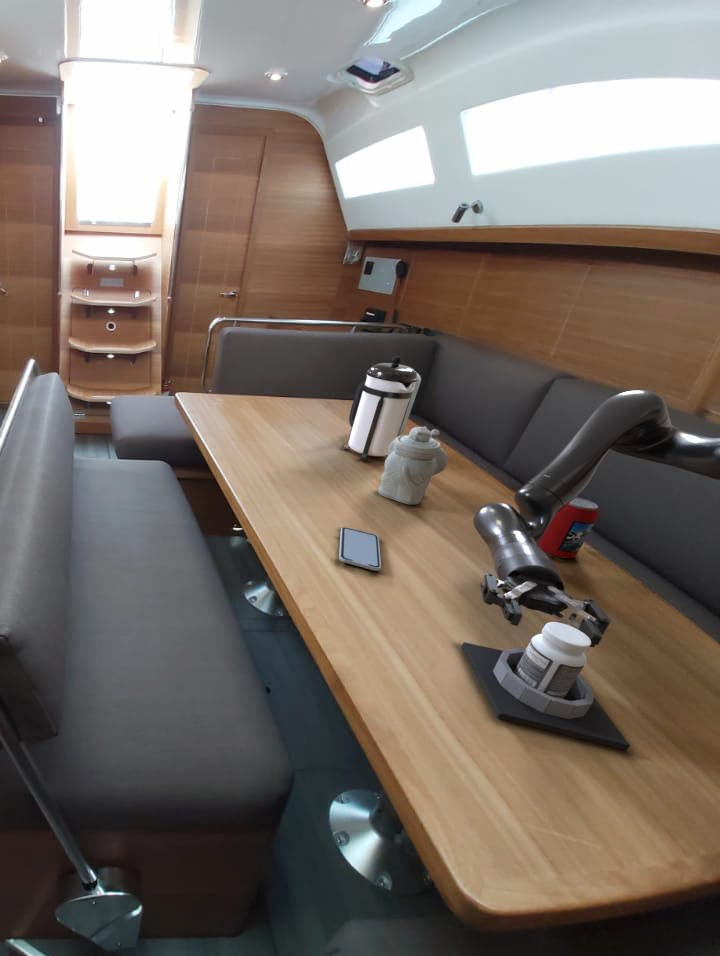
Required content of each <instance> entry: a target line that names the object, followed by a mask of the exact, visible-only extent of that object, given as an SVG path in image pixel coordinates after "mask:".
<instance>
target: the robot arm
mask: <svg viewBox="0 0 720 956" xmlns="http://www.w3.org/2000/svg"><path fill="white" fill-rule="evenodd" d="M610 450H612V451H614V452H616V453H619V454H622V455H625V456H628V457H632V458H637V459H641V460H645V461H648V462H649V461H650V462H654V463H658V464H662V465H666V466H670V467H674V468H678V469H681V470H684V471H687V472H690V473H693V474H697V475H700V476H704V477H706V478H710V479H713V480H716V481H720V437H708V436H704V435H700V434H696V433H693V432H689V431H686V430H682V429H680V428H677V427H676V426H674V425H673V424H672V423H671V418H670V414H669V410H668V407H667V404H666V402H665V399H663V397H662V396H661V395H660V394H658V393H656V392H654V391H650V390H641V389H639V390H638V389H637V390H629V391H624V392H621V393H618V394H614V395H613V396H611V397H609V398H607V399H606V400H605V401H603V402H602V403H601V404H599V406H597V408H596V409H595V410H594V411H593V412H592V413H591V415H590V416H589V418H587V420H586V421H585V422H584V423H583V425H582V426H581V427H580V428H579V430H578V431H576V433H575V434H574V436H573V437H572V438H571V439H570V440H569V442H568V443H567V444H566V445H565V446H564V447H563V448H562V450H561V451H559V453H558V454H557V455H556V456H555V457H554V458H553V459H552V460H550V462H549V463H548V464H547V465H546V466H544V467H543V468H542V469H541V470H540V471H539V472H537V474H535V475H534V476H533V477H532V478H531V479H530V480H528V481H527V482H526V483H524V485H522V486H521V487H520V488H518V490H517V491H516V492H515V493H514V495H513V497H514V498H513V499H514V502H515V505H516V506H517V509H518V511H517V510H516V508H514V507H513V506H512V505H510V504H507V503H505V502H499V501H498V502H490V503H487V504H484V505H482V506H481V507H480V508H478V510H477V511H476V512H475V514H474V515H473V519H472V521H473V527H474V529H475V530H476V532H477V534H478V535H479V537H480V539H482V541H483V542H484V543H485V545H486V546H487V548H488V550H489V552H490V556H491V559H492V560H493V565H494V570H495V573H496V575H497V578H496V575H495V574H493V573H492V572H485V574H484V576H483V578H482V580H481V582H480V586H479V587H480V592H481V597H482V602H483V603H484V604H486V605H489V606H493V605H496V606H497V608H498V609H499V610H501V612H502V615H503V617H504V619H505V620H506V621H508V623H509V624H510V625H512V626H515V627H517V626H519V624H520V622H521V620H522V618H523V612H522V610H521V608H523V607H524V608H526V609H527V610H531V611H536V612H537V611H538V612H541V613H543V614H546V615H550V616H551V617H552V618H554V619H555V620H557V622H559V623H562V624H566V625H569V626H571V627H574V628H576V629H578V630H579V631H581V632H583V633H584V634H585V635H586V636H587V637H589V639H590V640H591V645H590V647H589V648H595V646H599V644H600V642H602V639H603V638H604V633H605V632H606V630H607V629H608V627H609V626H610V624H611V622H612V620H611V619H610V618H609V616H608V615H607V614H606V612H605V611H604V610H603V609H602V607H601V605H599V603H598V602H597V601H596V599H593V598H592V597H585V598H584V600H578V599H574V598H573V597H572V596H571V595H570V594H568V593H567V592H566V590H565V585H564V584H565V583H564V581H563V578H562V577H561V576H560V573H559V572H558V570H557V569H556V566H555V565H554V564H553V562H552V559H550V557H549V555H548V554H546V553H544V552H543V550H542V548H541V546H540V545H539V543H538V542H539V541H540V540H541V538H542V537H543V535H544V533H545V531H546V530H547V528H548V526H549V525H550V523H551V522H552V520H553V518H554V516H555V515H556V514H557V513H558V512H559V511H560V510H561V509H562V508H564V507H565V506H566V505H567V504H568V503H570V502H571V501H572V500H573V499H574V498H576V497H579V495H580V494H581V493H582V492H583V491H584V490H585V488H586V487H587V486H588V484H589V483H590V481H591V480H592V478H593V476H594V474H595V473H596V471H597V469H598V467H599V466H600V464H601V462H602V461H603V459H604V458H605V456H606V455H607V454H608V452H609V451H610ZM499 589H501V592H502V593H504V594H501V593H499V592H500V591H499ZM564 611H565V612H564ZM562 612H564V613H562ZM577 616H578V617H580V618H581V619H582V620H581V621H578V620H577Z"/></svg>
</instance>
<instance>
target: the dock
mask: <svg viewBox="0 0 720 956" xmlns="http://www.w3.org/2000/svg"><path fill="white" fill-rule="evenodd" d="M461 648H462V651H463V652H464V655H465V656H466V659H467V660H468V662H469V665H470V666H471V668H472V670H473V673H474V675H475V677H476V678H477V681H478V682H479V685H480V686H481V688H482V691H483V692H484V695H485V697H486V698H487V700H488V702H489V705H490V706H491V708H492V710H493V713H494V714H495V716H496V718H497V719H499V720H503V721H507V722H512V723H516V724H518V725H523V726H527V727H530V728H535V729H540V730H542V731H546V732H551V733H554V734H555V733H556V734H558V735H563V736H567V737H571V738H576V739H578V740H582V741H587V742H590V743H595V744H597V745H602V746H606V747H610V748H614V749H619V750H623V751H628V749H630V746H631V744H630V743H629V742H628V740H627V739H626V737H624V735H623V734H622V732H621V731H620V730H619V728H618V727H617V725H615V723H614V722H613V720H612V719H611V718H610V716H609V714H608V713H607V712H606V711H605V710H604V708H603V706H601V704H600V703H599V701H598V700H597V699H596V697H595V691H594V689H592V687H591V685H590V684H589V683H588V681H587V680H586V679H585V678H584V677H583V675H581V674H579V675H578V677H577V678H576V680H575V681H574V683H573V685H572V686H571V688H570V689H569V691H568V693H567V694H566V696H565V697H564V698H563V699H560V698H556V697H551V696H549V695H547V694H545V693H543V692H541V691H539V690H537V689H535V688H533V687H531V686H529V685H528V684H526V683H525V682H524V681H523V680H521V679H520V678H519V677H518V676H516V675H515V674H514V671H515V669H516V667H517V665H518V663H519V661H520V660H521V658H522V656H523V654H524V652H525V650H526V648H525V649H524V648H521V647H520V648H519V647H515V648H510V649H504V650H502V649H497V648H493V647H488V646H483V645H480V644H475V643H469V642H465V641H464V642H463V643H462V645H461Z"/></svg>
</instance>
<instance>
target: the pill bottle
mask: <svg viewBox="0 0 720 956" xmlns="http://www.w3.org/2000/svg"><path fill="white" fill-rule="evenodd" d="M590 645H591V640H590V639H589V637H587V636H586V635H585V634H584V633H583V632H581V631H579V630H578V629H576V628H574V627H573V626H571V625H570V624H563V623H561V622H559V621H557V622H556V621H550V622H547V623H545V625H544V626H543V628H542V629H541V633H538V634H536V635H534V636H533V637H532V638H531V639H530V641H529V644H528V645H527V647H526V648H525V652H524V654H523V656H522V658H521V660H520V661H519V663H518V665H517V667H516V669H515V671H514V674H515V675H516V676H518V677H519V678H520V679H521V680H523V681H524V682H525V683H526V684H528V685H529V686H531V687H533V688H535V689H537V690H539V691H541V692H543V693H545V694H547V695H549V696H551V697H556V698H560V699H563V698H564V697H565V696H566V694H567V693H568V691H569V689H570V688H571V686H572V685H573V683H574V681H575V680H576V678H577V677H578V675H581V672H582V670H583V669H584V667H585V665H586V664H587V655H586V652H588V651H589V649H590V648H591V647H590Z"/></svg>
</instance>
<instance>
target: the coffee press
mask: <svg viewBox="0 0 720 956" xmlns="http://www.w3.org/2000/svg"><path fill="white" fill-rule="evenodd" d="M391 360H392V362H381V363H375V364H374V365H372V366H371V367H370V368H369V369H368V370H367V371H366V379H364V380H362V381H361V382H360V383H359V384H358V386H357V388H356V390H355V394H354V396H353V397H354V398H353V401H352V403H351V407H350V411H349V417H348V421H349V426H350V427H351V428H350V433H349V435H348V439H347V441H346V442H344V443H343V444H342V445H341V449H343V450H348V449H351V450H353V451H355V452H357V453H359V454H361V455H360V459H359V461H363V462H366V461H367V458H368V456H369V457H386V458H387V457H388V447H389V445H390V444H391V442H392V441H393V440H394V439H396V438H397V437H398V436H399V433H400V430H401V427H402V424H403V421H404V418H405V415H406V412H407V409H408V406H409V403H410V400H411V396H412V393H413V387H414V384H415V383H416V382H417V381H418V377H417V373H418V372H417V371H416V370H415V369H414V368H413V367H411V366H408V365H405V364H400V363H401V362H402V357H401V356H399V355H395V356H393V358H392V359H391ZM416 372H417V373H416ZM409 399H410V400H409ZM346 444H348V446H347V447H344V445H346Z"/></svg>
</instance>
